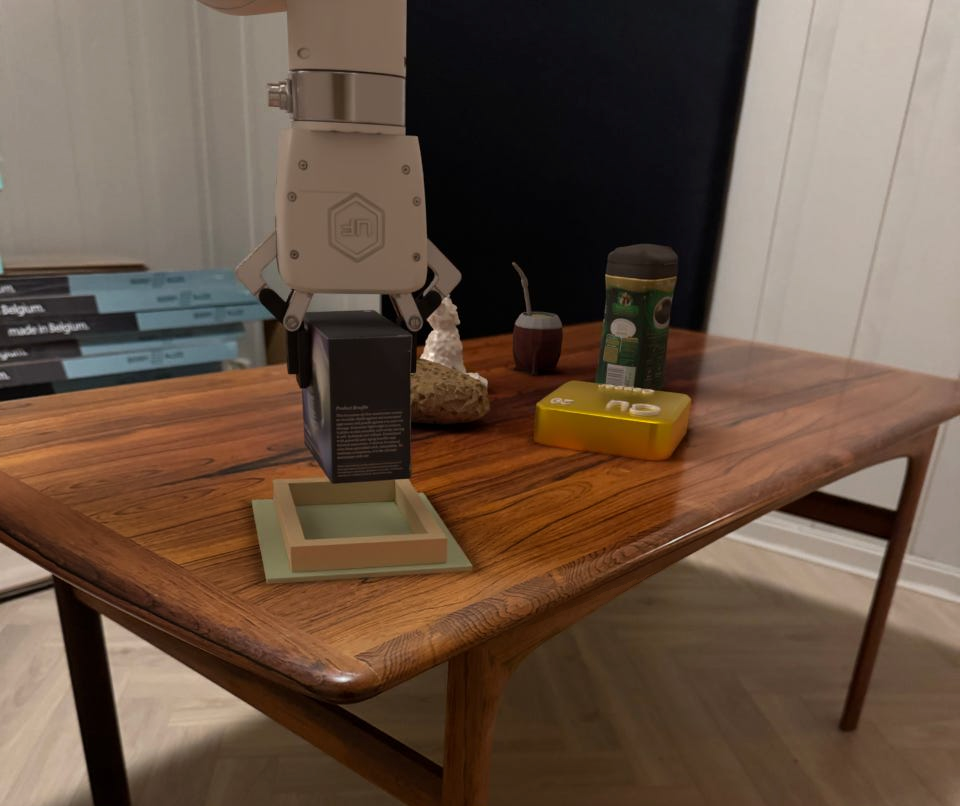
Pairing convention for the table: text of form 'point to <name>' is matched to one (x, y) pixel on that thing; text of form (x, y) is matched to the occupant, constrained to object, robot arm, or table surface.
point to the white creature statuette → (446, 339)
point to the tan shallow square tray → (351, 532)
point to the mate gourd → (536, 338)
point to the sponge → (445, 395)
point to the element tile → (612, 420)
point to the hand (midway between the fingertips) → (352, 381)
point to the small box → (358, 396)
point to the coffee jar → (637, 316)
